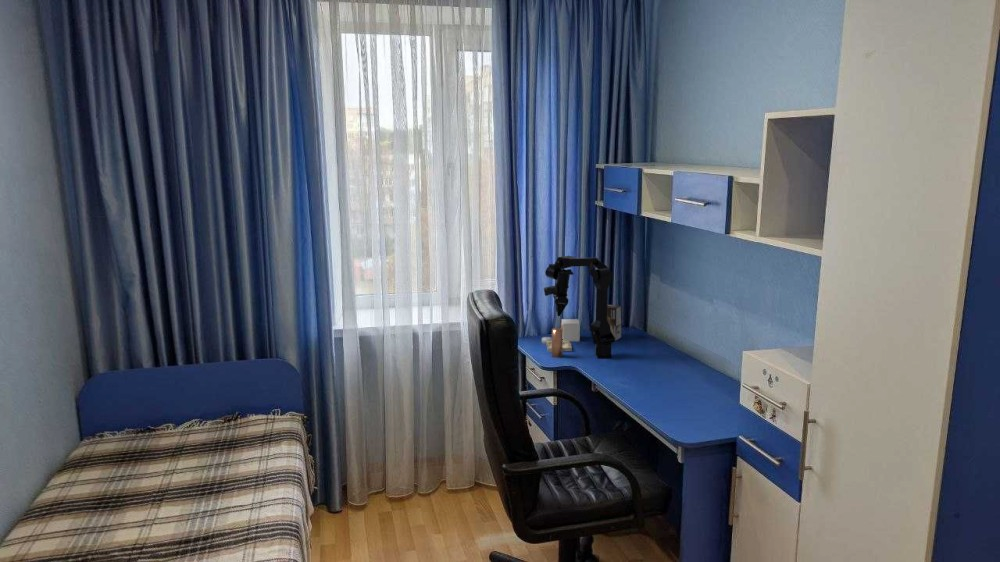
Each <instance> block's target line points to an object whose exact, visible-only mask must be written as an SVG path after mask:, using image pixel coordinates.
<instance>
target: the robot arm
mask: <svg viewBox="0 0 1000 562" xmlns="http://www.w3.org/2000/svg"><path fill="white" fill-rule="evenodd" d="M574 267H587V269H588V274H589V275H590V276H591V278H592V282H593V283H592V284H593V285H594V286H595V290H596V291H595V292H596V295H595V298H596V299H595V321H593V322H591V323H590V333H591V337H592V342H593V344H594V345H595V346H594V350H595V351H594V355H595V356H596V358H597V359H613V356H612V344H614V343H615V341H616V340H615V337H614V336H613V334H612V332H611V330H610V324H609V323H608V321H607V304H608V291H609V290H608V289H609V287H610V285H611V283H612V279H613V272H612V271H611V270H610V269H609V267H608V266H607V265H606V264H605V263H603V262H602V261H601V260H599V259H598V258H597V257H595V256H592V257H575V256H573V255H564V256H558V257H557V258H556V261H555V262H554V263H550V264H549V265H548V267H547V268H546V269H545V271H544V274H545V276H546V277H547V278H550V279H552V280H555V281H556V282H555V285H550V286H545V287H543V292H544V296H545V297H546V296H547V297H548V296H550V295H552V297H553V299H554V304H555V312H556V315H557V317H560V316H561V314H562V313H563V312H564V310H565V309H566V307H567V306H568V304H569V300H570V299H569V298H568V291H569V290H568V289H569V287H570V285H569V284H570V278H571V277H570V276H573V275H574V272H573V271H572V269H570V268H574ZM596 268H597V269H596ZM605 338H606V339H605Z"/></svg>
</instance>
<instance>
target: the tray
mask: <svg viewBox="0 0 1000 562" xmlns="http://www.w3.org/2000/svg"><path fill="white" fill-rule="evenodd" d="M545 345H546V348H547V352H549V353H550V352H551V353H552V341H546V344H545ZM563 351H572V352H573V347H572V344H571V341H563V340H562V353H563Z"/></svg>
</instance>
